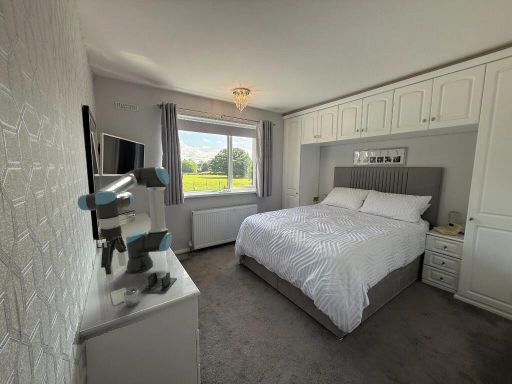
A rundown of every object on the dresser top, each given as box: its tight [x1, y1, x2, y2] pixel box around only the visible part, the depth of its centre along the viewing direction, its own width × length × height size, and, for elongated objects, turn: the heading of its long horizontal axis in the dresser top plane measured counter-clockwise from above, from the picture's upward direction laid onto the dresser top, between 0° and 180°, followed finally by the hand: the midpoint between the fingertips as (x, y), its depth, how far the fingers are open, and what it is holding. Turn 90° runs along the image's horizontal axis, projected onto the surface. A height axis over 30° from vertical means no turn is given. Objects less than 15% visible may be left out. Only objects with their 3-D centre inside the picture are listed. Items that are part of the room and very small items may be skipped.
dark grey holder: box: [141, 272, 178, 294], centre depth 116 cm, size 13×13×6 cm
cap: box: [124, 288, 141, 309], centre depth 101 cm, size 6×6×6 cm
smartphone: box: [109, 287, 128, 307], centre depth 108 cm, size 7×1×15 cm
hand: (117, 272), depth 95 cm, fingers open, 13 cm apart
